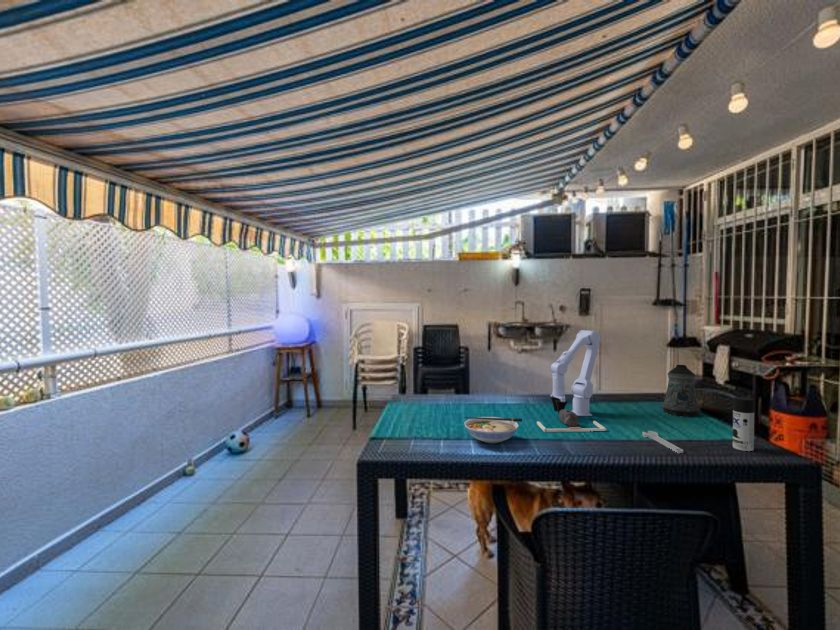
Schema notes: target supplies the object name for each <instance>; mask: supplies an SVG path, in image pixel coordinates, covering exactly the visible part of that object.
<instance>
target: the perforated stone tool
mask: <svg viewBox="0 0 840 630" xmlns="http://www.w3.org/2000/svg"><path fill="white" fill-rule="evenodd" d="M572 411H573V410H570V409H566V408H565V409H562V410H560V412H559V414H558V418H559V420H560V421H561V422H562V423H563V424H564V425H566V426H569V427H577V425H578V424H579V416H577V415H576V414H575V413H574V412H572Z"/></svg>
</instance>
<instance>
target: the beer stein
mask: <svg viewBox="0 0 840 630" xmlns="http://www.w3.org/2000/svg"><path fill="white" fill-rule="evenodd" d="M667 376H668V382H667V383H668V384H667V387H666V393H665V398H664V401H663V402H662V411H663V413H664V412H665V413H664V414H666V413H668V414H667V415H669V414H671V415H670V416H674V415H676V416H675V417H680V416H683V417H682V418H695V417H694V416H696V417H699V413H700V410H701V408H700V407H699V404H698V399H697V392H696V386H695V379H696V374H695V373H694V372H693V371H692V370H690V368H688V367H687V365H685V364H676V366H675V367H674V368H672V369H670V370H669V371H668V373H667Z"/></svg>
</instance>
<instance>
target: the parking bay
mask: <svg viewBox="0 0 840 630" xmlns="http://www.w3.org/2000/svg"><path fill="white" fill-rule="evenodd" d="M592 423H593V425H594V426H596V427H597V428H596V427H590V428H582V427H581V426H569V427H568V428H546V427H545V426H544V425H543V424H542V422H540V421H536V425H537V426H538V427H539V428H540V430H542V431H543V432H544V433H567V432H568V433H572V432H573V433H575V432H576V433H581V432H585V433H586V432H587V433H591V432H593V431H608V428H606V427H605V426H603V425H602V424H600V423H599V422H597V421H596V420H593V421H592ZM590 431H591V432H590ZM593 433H594V432H593Z"/></svg>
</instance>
